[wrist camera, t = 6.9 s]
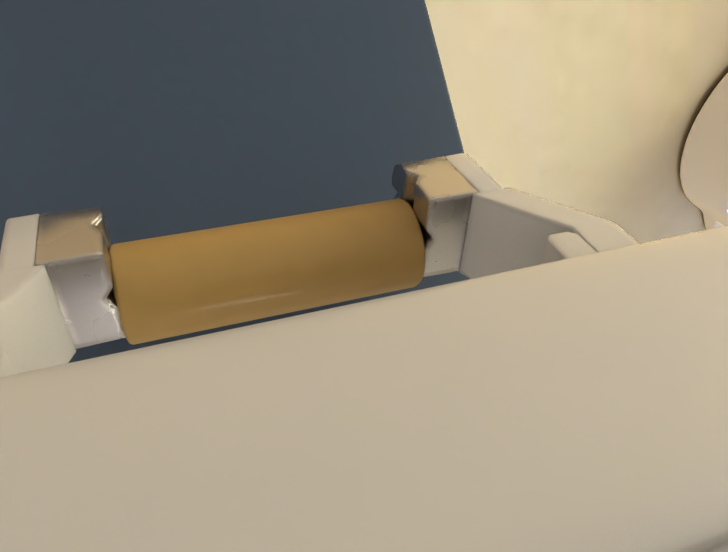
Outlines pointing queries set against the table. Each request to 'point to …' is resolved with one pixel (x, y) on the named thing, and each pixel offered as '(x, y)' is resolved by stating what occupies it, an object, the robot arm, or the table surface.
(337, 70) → the lid
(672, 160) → the table surface
